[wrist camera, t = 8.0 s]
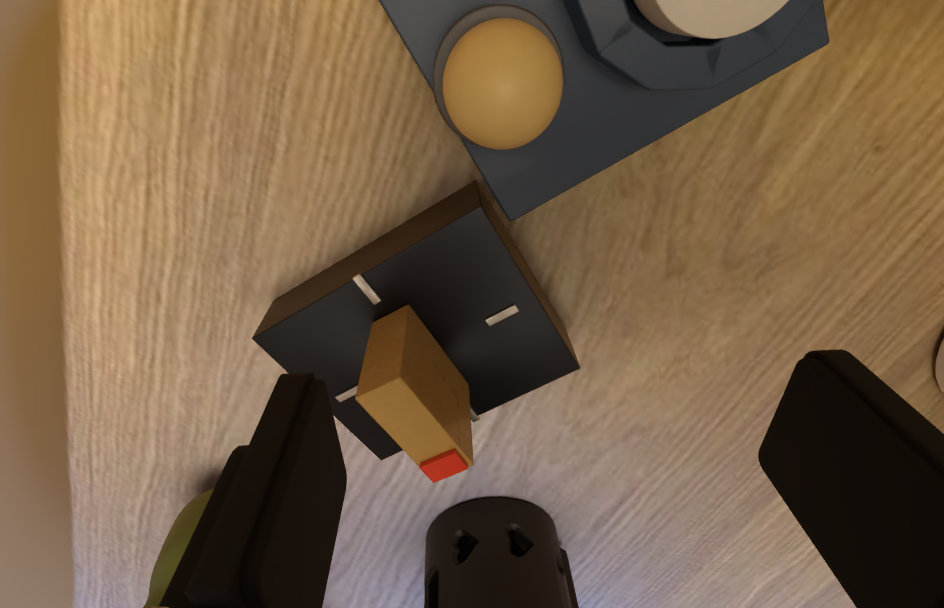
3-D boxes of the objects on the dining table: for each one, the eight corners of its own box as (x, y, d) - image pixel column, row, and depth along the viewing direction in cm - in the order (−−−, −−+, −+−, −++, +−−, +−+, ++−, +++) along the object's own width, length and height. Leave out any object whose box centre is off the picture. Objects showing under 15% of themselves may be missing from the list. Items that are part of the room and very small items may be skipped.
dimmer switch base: (474, 177, 20) (479, 204, 17) (567, 331, 24) (582, 372, 22) (271, 299, 22) (248, 339, 20) (388, 418, 27) (381, 464, 24)
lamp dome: (524, -28, 13) (546, -35, 10) (581, 102, 15) (611, 125, 12) (407, 54, 14) (398, 66, 11) (474, 167, 16) (480, 201, 13)
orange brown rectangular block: (371, 322, 20) (352, 403, 16) (409, 303, 19) (399, 382, 15) (435, 399, 22) (432, 487, 18) (469, 384, 22) (474, 470, 18)
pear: (198, 457, 28) (90, 657, 19) (292, 477, 29) (228, 673, 21) (188, 514, 30) (89, 711, 22) (274, 530, 32) (211, 723, 23)
